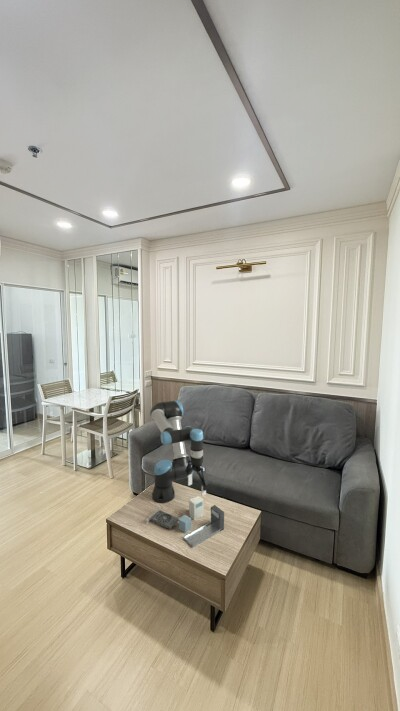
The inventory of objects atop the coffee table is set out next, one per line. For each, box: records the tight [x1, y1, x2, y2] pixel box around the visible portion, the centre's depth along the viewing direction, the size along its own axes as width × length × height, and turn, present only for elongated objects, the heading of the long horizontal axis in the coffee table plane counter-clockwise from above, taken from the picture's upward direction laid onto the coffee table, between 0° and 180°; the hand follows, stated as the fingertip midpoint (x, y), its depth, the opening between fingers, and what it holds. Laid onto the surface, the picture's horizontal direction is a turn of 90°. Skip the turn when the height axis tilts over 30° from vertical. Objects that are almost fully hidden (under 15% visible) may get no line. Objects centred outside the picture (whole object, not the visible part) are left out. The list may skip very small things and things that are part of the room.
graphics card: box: [145, 507, 180, 530], centre depth 167 cm, size 17×4×12 cm
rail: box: [183, 504, 225, 549], centre depth 158 cm, size 8×22×10 cm, turn 128°
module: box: [188, 495, 205, 521], centre depth 173 cm, size 5×7×10 cm
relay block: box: [178, 514, 192, 534], centre depth 162 cm, size 5×5×6 cm
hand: (196, 489), depth 172 cm, fingers open, 13 cm apart
